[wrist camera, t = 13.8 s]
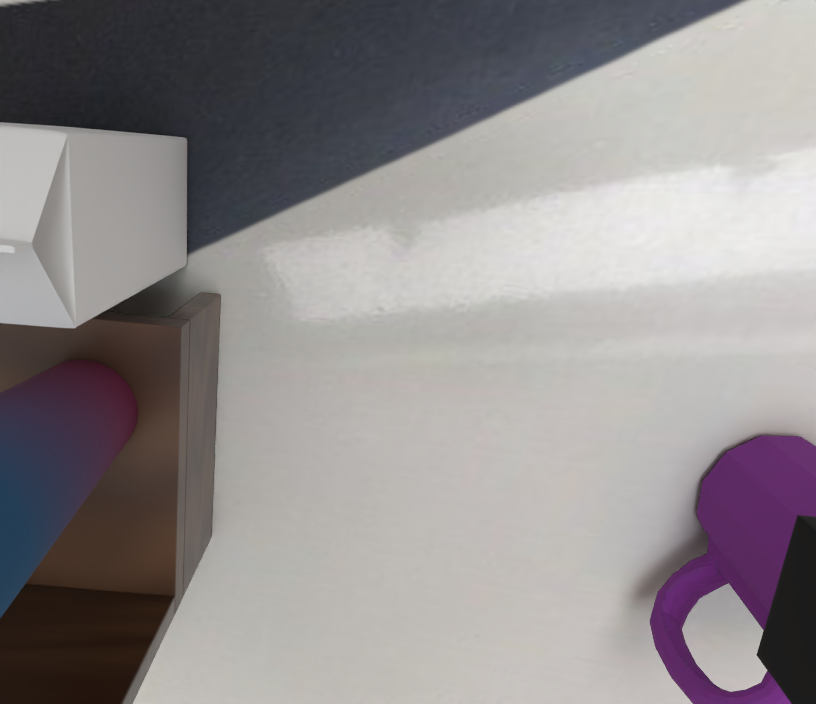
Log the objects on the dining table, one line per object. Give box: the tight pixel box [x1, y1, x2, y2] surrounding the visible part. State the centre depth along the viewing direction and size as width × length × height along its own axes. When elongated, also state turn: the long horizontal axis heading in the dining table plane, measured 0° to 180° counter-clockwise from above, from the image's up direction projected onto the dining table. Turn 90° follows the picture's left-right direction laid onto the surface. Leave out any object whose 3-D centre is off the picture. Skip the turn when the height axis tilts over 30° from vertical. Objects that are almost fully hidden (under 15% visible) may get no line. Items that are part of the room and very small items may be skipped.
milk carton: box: [0, 122, 187, 328], centre depth 31 cm, size 7×7×19 cm
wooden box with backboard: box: [0, 293, 221, 704], centre depth 35 cm, size 16×14×18 cm
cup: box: [0, 360, 138, 618], centre depth 28 cm, size 7×7×15 cm
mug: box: [650, 435, 816, 704], centre depth 39 cm, size 9×16×15 cm, turn 133°
